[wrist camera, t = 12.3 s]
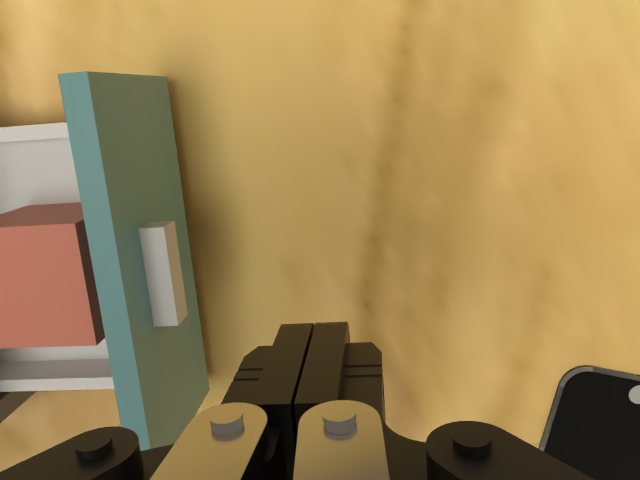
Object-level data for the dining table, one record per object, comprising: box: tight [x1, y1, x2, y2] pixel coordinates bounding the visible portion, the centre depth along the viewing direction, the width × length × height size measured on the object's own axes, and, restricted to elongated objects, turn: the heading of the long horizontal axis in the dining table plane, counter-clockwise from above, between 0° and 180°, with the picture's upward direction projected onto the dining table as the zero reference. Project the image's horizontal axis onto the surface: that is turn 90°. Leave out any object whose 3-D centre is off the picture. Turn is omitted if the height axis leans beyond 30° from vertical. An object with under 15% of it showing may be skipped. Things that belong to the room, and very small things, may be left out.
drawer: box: [0, 72, 209, 451], centre depth 25 cm, size 15×14×7 cm
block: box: [0, 202, 105, 348], centre depth 25 cm, size 5×5×5 cm
